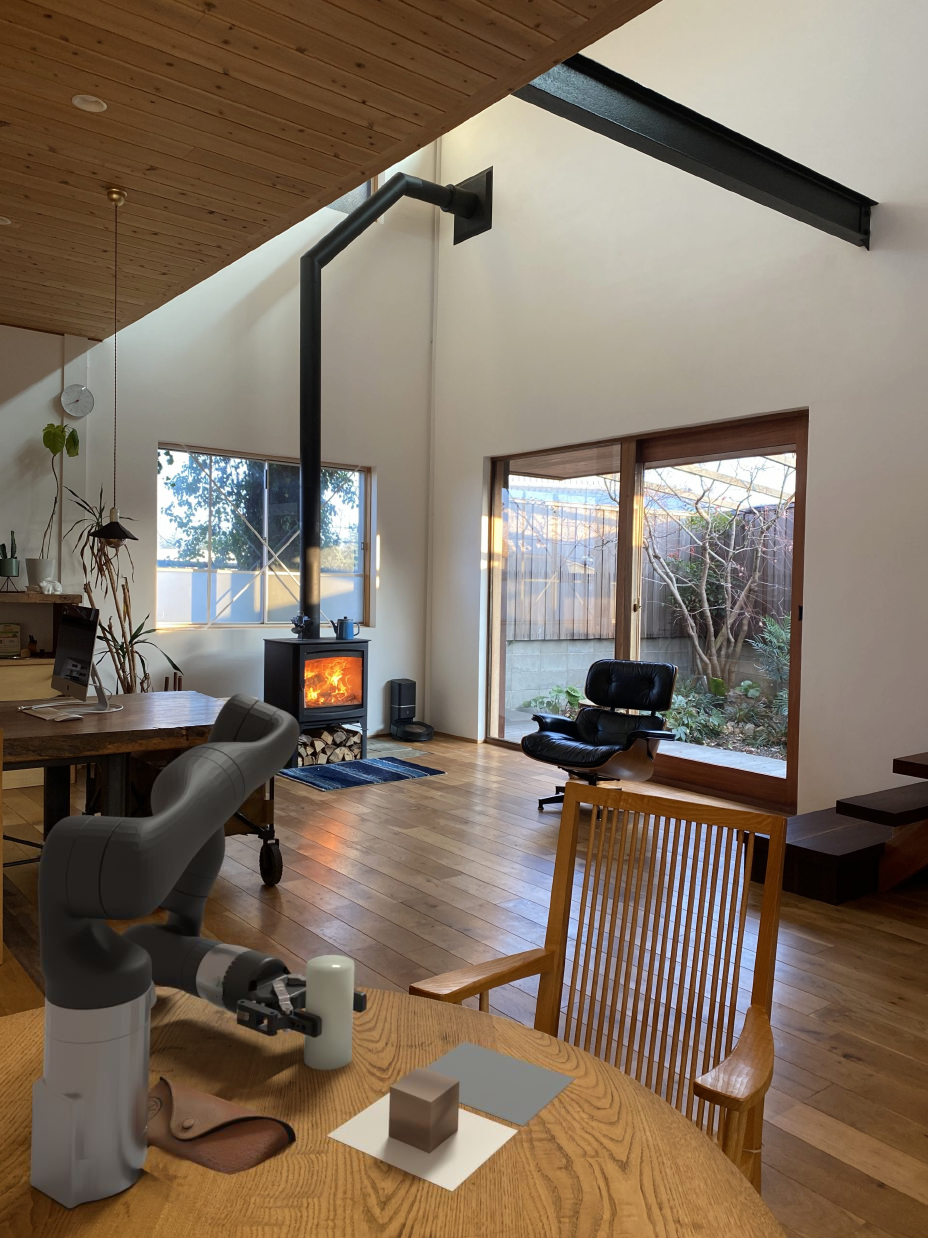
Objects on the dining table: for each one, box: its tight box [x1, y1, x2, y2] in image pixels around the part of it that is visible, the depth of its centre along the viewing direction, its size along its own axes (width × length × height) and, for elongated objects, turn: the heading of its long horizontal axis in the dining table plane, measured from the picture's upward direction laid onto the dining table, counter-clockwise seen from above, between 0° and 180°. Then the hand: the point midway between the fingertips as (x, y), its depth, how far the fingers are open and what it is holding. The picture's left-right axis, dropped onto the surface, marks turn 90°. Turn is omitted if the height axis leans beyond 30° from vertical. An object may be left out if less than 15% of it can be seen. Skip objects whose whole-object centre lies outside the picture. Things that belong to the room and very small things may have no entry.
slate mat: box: [424, 1041, 576, 1128], centre depth 104 cm, size 12×15×1 cm
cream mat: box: [326, 1092, 519, 1192], centre depth 93 cm, size 12×15×1 cm
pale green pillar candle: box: [303, 954, 355, 1071], centre depth 108 cm, size 6×6×12 cm
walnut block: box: [388, 1065, 460, 1154], centre depth 93 cm, size 5×5×5 cm
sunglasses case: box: [147, 1075, 297, 1176], centre depth 92 cm, size 18×7×7 cm
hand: (342, 1015), depth 106 cm, fingers open, 7 cm apart
